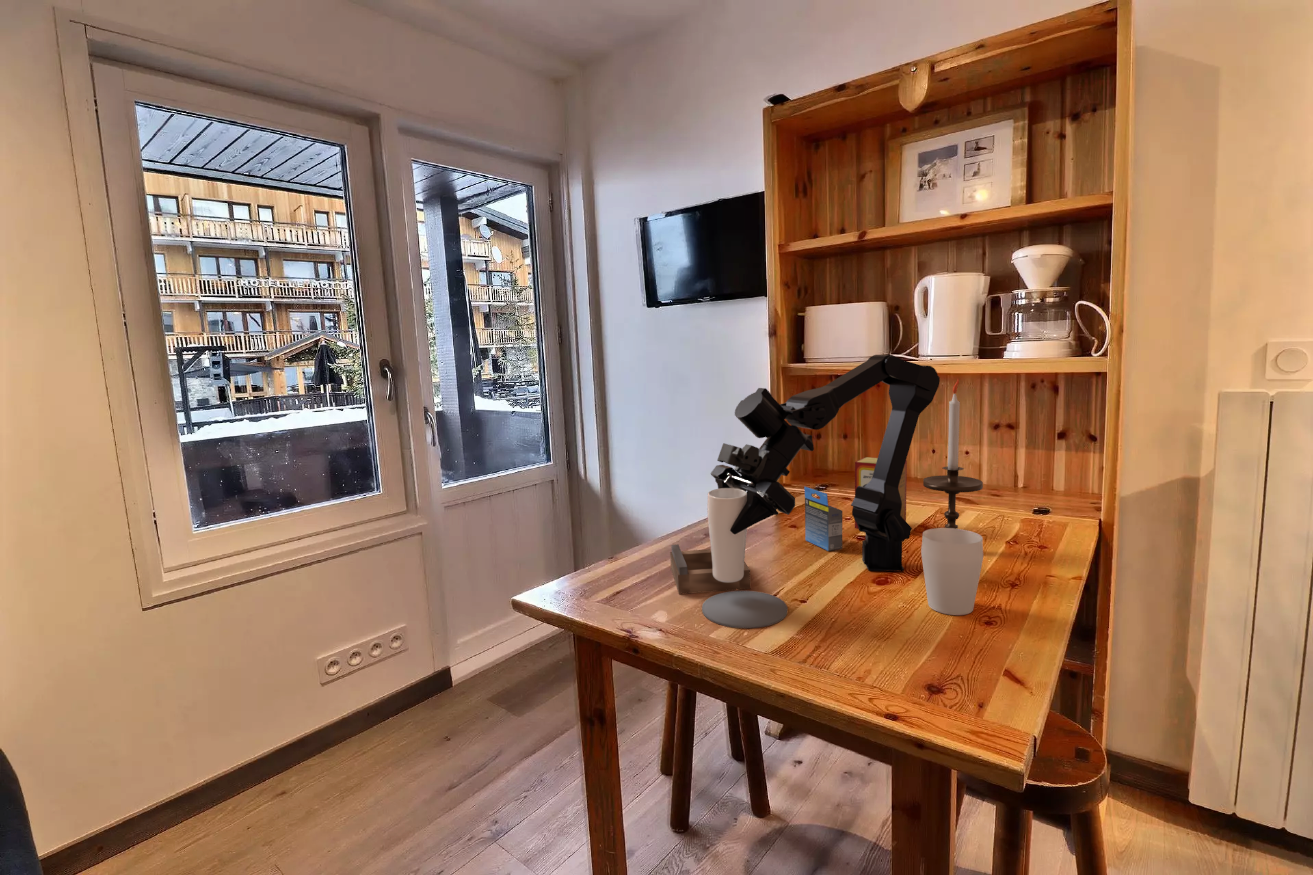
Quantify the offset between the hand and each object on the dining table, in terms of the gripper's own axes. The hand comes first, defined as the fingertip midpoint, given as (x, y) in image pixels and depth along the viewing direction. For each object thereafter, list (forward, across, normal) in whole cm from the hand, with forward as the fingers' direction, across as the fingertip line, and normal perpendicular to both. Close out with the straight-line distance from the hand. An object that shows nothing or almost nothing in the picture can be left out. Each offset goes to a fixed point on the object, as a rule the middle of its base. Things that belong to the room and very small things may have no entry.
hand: (721, 527), depth 108 cm
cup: (-12, +20, +31) cm, 39 cm away
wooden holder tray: (+7, -11, +12) cm, 18 cm away
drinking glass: (+6, 0, +8) cm, 9 cm away
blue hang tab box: (-14, -16, +34) cm, 40 cm away
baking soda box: (-27, -20, +47) cm, 58 cm away
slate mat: (+8, +4, +10) cm, 14 cm away
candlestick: (-28, 0, +48) cm, 55 cm away
